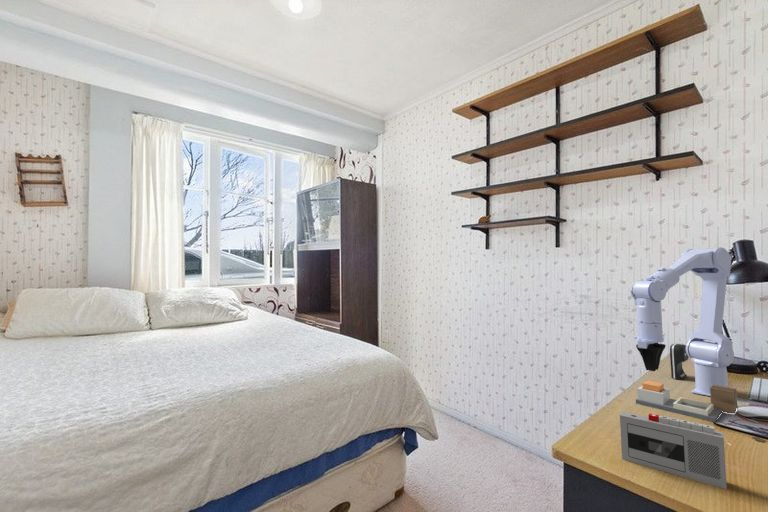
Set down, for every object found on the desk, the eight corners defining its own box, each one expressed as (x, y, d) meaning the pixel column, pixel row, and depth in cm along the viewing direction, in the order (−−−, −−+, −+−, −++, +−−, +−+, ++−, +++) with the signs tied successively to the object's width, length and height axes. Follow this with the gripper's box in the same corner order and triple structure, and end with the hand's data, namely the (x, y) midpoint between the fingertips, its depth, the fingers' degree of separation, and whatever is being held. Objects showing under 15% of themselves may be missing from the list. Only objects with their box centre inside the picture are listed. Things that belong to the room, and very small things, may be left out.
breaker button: (647, 390, 105) (646, 380, 106) (664, 394, 102) (663, 383, 102) (642, 393, 103) (642, 383, 103) (659, 397, 100) (659, 386, 100)
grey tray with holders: (645, 396, 108) (644, 383, 108) (722, 413, 94) (721, 398, 94) (635, 403, 103) (635, 389, 103) (715, 422, 89) (714, 406, 89)
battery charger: (685, 381, 120) (683, 347, 121) (671, 378, 123) (669, 345, 124) (690, 377, 124) (688, 343, 125) (676, 374, 127) (674, 342, 128)
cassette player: (622, 459, 74) (619, 410, 74) (624, 454, 76) (622, 406, 76) (726, 489, 63) (723, 432, 64) (726, 482, 65) (723, 427, 66)
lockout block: (715, 406, 99) (713, 384, 99) (737, 411, 96) (736, 388, 96) (711, 410, 96) (710, 388, 97) (734, 415, 93) (733, 392, 93)
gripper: (641, 318, 111) (644, 362, 111) (624, 323, 102) (626, 371, 102) (670, 320, 105) (672, 366, 105) (654, 326, 97) (656, 377, 96)
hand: (652, 369), depth 103 cm, fingers closed
